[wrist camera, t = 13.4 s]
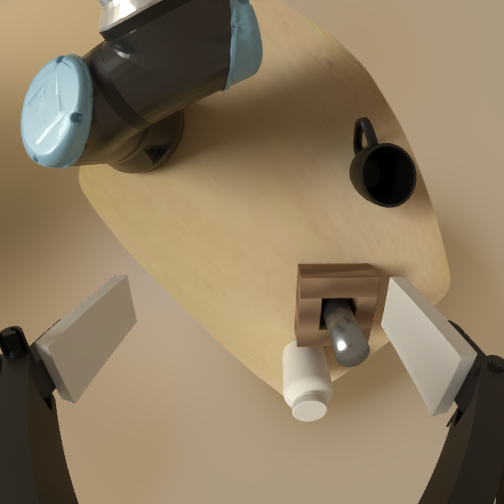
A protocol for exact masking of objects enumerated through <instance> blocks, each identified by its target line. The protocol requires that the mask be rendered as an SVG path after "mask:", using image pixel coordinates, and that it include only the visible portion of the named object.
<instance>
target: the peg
mask: <svg viewBox="0 0 504 504" xmlns="http://www.w3.org/2000/svg"><path fill="white" fill-rule="evenodd" d="M321 311H322V314H323V317H324V320H325V323H326V326H327V330H328V333H329V336H330V339H331V343H332V346H333V349H334V353H335V356H336V359H337V362H338V363H339V364H340V365H342V366H345V367H352V366H356V365H358V364H360V363H361V362H363V361H364V360H365V359H366V358H367V357H368V355H369V352H370V347H369V345H368V343H367V340H366V338H365V336H364V334H363V332H362V330H361V328H360V326H359V324H358V322H357V320H356V318H355V316H354V314H353V312H352V310H351V308H350V306H349V304H348V302H347V300H346V298H322V304H321Z"/></svg>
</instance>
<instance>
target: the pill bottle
mask: <svg viewBox="0 0 504 504" xmlns="http://www.w3.org/2000/svg"><path fill="white" fill-rule="evenodd" d="M283 388H284V398H285V401H286V403H287V404H288V405H289V406H290V407H292V414H293V416H294V417H295V418H296V419H298V420H301V421H314V420H317V419H319V418H321V417H323V416H324V415H325V414H326V412H327V409H328V407H327V402H328V401H329V400H330V398H331V396H332V392H333V387H332V382H331V377H330V373H329V368H328V364H327V360H326V355H325V351H324V348H323V346H320V347H297V343H296V340H294V341H292V342H290V343H289V344H288V345H287V346H286V348H285V349H284V352H283Z"/></svg>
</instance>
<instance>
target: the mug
mask: <svg viewBox="0 0 504 504" xmlns="http://www.w3.org/2000/svg"><path fill="white" fill-rule="evenodd" d="M363 131H364V133H365V136H366V139H367V143H368V146H369V147H367V148H365V149H363V147H362V135H363ZM353 146H354V152H355V155H356V156H355V158H354V159H353V161H352V163H351V166H350V170H349V174H350V179H351V182H352V184H353V186H354V188H355V189H356V190H357V191H358V193H359V194H360V195H361V196H363V197H364V198H365V199H366V200H368V201H370V202H372V203H374V204H376V205H379V206H382V207H386V208H393V207H396V206H399V205H401V204H403V203H405V202H406V201H407V200H408V199H409V198H410V196H411V195H412V193H413V191H414V188H415V185H416V169H415V165H414V163H413V161H412V159H411V157H410V156H409V154H408V153H407V152H406V151H405V150H404V149H402V148H401V147H399V146H397V145H394V144H391V143H382V144H378V141H377V138H376V135H375V132H374V129H373V126H372V124H371V122H370V120H369V119H368V118H367V117H363V118H360V119H358V120H357V121H356V122H355V128H354V143H353Z"/></svg>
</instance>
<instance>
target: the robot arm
mask: <svg viewBox="0 0 504 504" xmlns="http://www.w3.org/2000/svg"><path fill="white" fill-rule="evenodd" d="M97 2H98V3H99V4H100V5H101V7H102V12H101V16H100V20H99V23H98V27H97V29H98V31H99V33H100V34H101V35H102V36H103V38H104V39H105V40H104V41H103V42H102V43H100V44H99V45H97V46H96V47H95V48H93V49H92V50H91V51H89V52H88V53H87V54H85V55H84V56H83V57H80V56H77V55H75V54H70V55H67V56H58V57H56V58H54V59H52V60H50V61H49V62H48V63H46V65H44V66H43V68H41V69H40V71H39V72H38V73H37V75H36V76H35V78H34V79H33V81H32V83H31V85H30V87H29V89H28V91H27V94H26V96H25V99H24V105H23V109H22V115H21V134H22V140H23V144H24V147H25V149H26V151H27V153H28V154H29V156H30V157H31V159H32V160H33V161H35V162H36V163H38V164H40V165H42V166H45V167H56V168H68V167H70V166H81V165H93V164H108V165H109V166H111V167H112V168H114V169H116V170H118V171H120V172H124V173H143V172H148V171H151V170H153V169H155V168H157V167H159V166H160V165H162V164H163V163H164V162H166V161H167V160H168V159H169V158H170V156H171V155H172V154H173V153H174V151H175V150H176V148H177V146H178V144H179V142H180V139H181V136H182V132H183V125H184V119H183V112H182V108H184V107H186V106H188V105H190V104H192V103H194V102H196V101H198V100H200V99H203V98H205V97H207V96H209V95H211V94H213V93H215V92H218V91H220V90H221V91H225V90H227V89H228V88H229V87H230V86H231V85H233V84H236V83H238V82H240V81H242V80H244V79H247V78H249V77H251V76H253V75H254V74H255V73H256V72H257V71H258V69H259V67H260V65H261V62H262V55H263V50H262V40H261V35H260V30H259V26H258V22H257V18H256V15H255V12H254V9H253V7H252V5H250V4H249V0H97ZM136 322H137V320H136V316H135V311H134V307H133V302H132V297H131V292H130V287H129V282H128V276H127V275H114V276H113V277H112V278H111V279H109V280H108V281H107V282H105V283H104V284H103V285H102V286H100V287H99V288H98V289H97V290H95V291H94V292H93V293H92V294H91V295H90V296H88V297H87V298H86V299H84V300H83V301H82V302H81V303H80V304H78V306H76V307H75V308H74V309H73V310H72V311H70V312H69V313H68V314H67V315H66V316H64V317H63V318H62V319H60V320H58V321H57V322H56V323H55V324H54V325H53V326H52V327H51V328H49V329H48V330H47V332H45V333H43V334H42V335H41V336H40V337H39V338H38V339H37V340H36V341H35V342H34V343H32V344H31V345H30V346H29V345H28V343H27V341H26V338H25V335H24V333H23V330H22V328H20V327H18V326H12V327H8V328H6V329H4V330H2V331H1V332H0V348H1V350H2V353H3V354H0V504H78V501H77V498H76V495H75V492H74V488H73V485H72V482H71V478H70V475H69V471H68V468H67V463H66V459H65V455H64V450H63V446H62V440H61V435H60V430H59V423H58V417H57V410H56V402H55V398H54V396H53V394H52V392H53V391H54V390H55V388H56V389H57V390H58V393H59V394H60V396H61V398H62V399H64V400H67V401H70V402H72V403H76V402H77V401H78V399H79V398H80V396H81V395H82V394H83V392H84V390H85V389H86V388H87V387H88V385H89V384H90V383H91V381H92V380H93V378H94V377H95V376H96V374H97V373H98V371H99V370H100V369H101V368H102V366H103V365H104V364H105V362H106V361H107V359H108V358H109V357H110V356H111V354H112V353H113V352H114V350H115V349H116V348H117V346H118V345H119V344H120V343H121V341H122V340H123V339H124V337H125V336H126V335H127V333H128V332H129V331H130V330H131V328H132V327H133V326H134V324H135V323H136ZM381 326H382V328H383V329H384V331H385V333H386V334H387V336H388V338H389V339H390V341H391V343H392V345H393V346H394V348H395V350H396V351H397V353H398V355H399V356H400V358H401V360H402V362H403V364H404V365H405V367H406V369H407V371H408V373H409V374H410V376H411V378H412V380H413V382H414V384H415V385H416V387H417V389H418V391H419V393H420V394H421V397H422V399H423V400H424V402H425V404H426V406H427V408H428V410H429V412H430V414H431V416H436V415H439V414H442V413H445V412H448V410H449V409H450V407H451V405H452V403H453V402H454V401H455V402H456V404H457V406H458V408H457V409H456V411H455V413H454V414H453V416H452V417H451V419H450V421H449V422H448V424H447V426H446V427H449V425H450V423H451V426H450V429H449V432H448V435H447V438H446V441H445V444H444V446H443V449H442V452H441V455H440V457H439V460H438V462H437V464H436V467H435V469H434V472H433V474H432V476H431V479H430V481H429V483H428V485H427V487H426V489H425V491H424V493H423V495H422V497H421V499H420V501H419V503H418V504H494V501H495V497H496V503H495V504H504V359H503V358H501V357H499V356H495V355H489V356H486V355H485V354H484V353H483V352H482V351H481V350H480V348H479V347H478V346H477V345H476V344H475V343H474V342H473V341H472V340H471V339H470V338H469V336H468V335H467V334H465V332H464V331H463V330H462V329H461V328H460V327H459V326H458V325H457V324H455V323H453V322H452V321H450V320H446V319H445V317H444V316H443V315H442V314H441V313H440V312H439V311H438V310H437V309H436V308H435V307H434V306H433V305H432V304H431V303H430V302H429V301H428V300H427V299H426V298H425V297H424V296H423V295H422V294H421V293H420V292H419V291H418V290H417V289H416V288H415V287H414V286H413V285H412V284H411V283H410V282H409V281H407V280H406V279H405V278H404V277H403V276H399V277H390V280H389V286H388V292H387V297H386V303H385V308H384V313H383V317H382V322H381Z"/></svg>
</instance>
